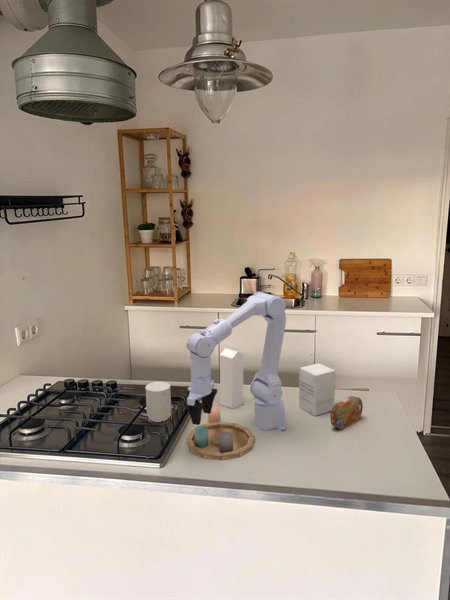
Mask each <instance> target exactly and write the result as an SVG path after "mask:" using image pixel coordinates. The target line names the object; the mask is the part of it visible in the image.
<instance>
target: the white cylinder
mask: <svg viewBox="0 0 450 600" xmlns="http://www.w3.org/2000/svg"><path fill="white" fill-rule="evenodd" d="M171 394H172V393H171V384H170V383H169V382H166V381H153V382H150V383H148V384H146V385H145V402H146V403H145V405H146V417H147V416H148V418H149V419H151V420H152V421H155V422H161V421H165V420H167V419H168V418H169V417H170V416H171V417H172V399H171V398H172V395H171Z"/></svg>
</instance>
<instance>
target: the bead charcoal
mask: <svg viewBox="0 0 450 600" xmlns="http://www.w3.org/2000/svg"><path fill="white" fill-rule="evenodd" d="M219 451H220V453H226V452H232V451H233V434H232V433H230V432H222V433H220V434H219Z"/></svg>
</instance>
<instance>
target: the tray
mask: <svg viewBox="0 0 450 600" xmlns="http://www.w3.org/2000/svg"><path fill="white" fill-rule="evenodd" d="M200 426H206V427H208V446H207V447H204V448H199V447H196V446H195V428H193V429H191V430H190V432H189V433H188V435H187V436H186V441H185V442H186V444H187V447H188V449H189V452H191V453H192V454H194V455H197V456H198V457H200V458H202V459H208V460H209V459H210V460H217V461H223V460H231V459H235V458H241V457H242V456H243V455H245V454H247V453H248V452H251V451H252V450H253V447H254V445H255V441H256V438H255V435H254V434H253V432H252V431H251V429H250V428H248V427H245V425H244V426H243V425H242V424H239V423H235V422H228V421H227V422H225V421H220V422H215V423H211V422H209V423H204V424H200ZM222 432H230V433H232V434H233V451H232V452H226V453H220V451H219V434H220V433H222Z"/></svg>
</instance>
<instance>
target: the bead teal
mask: <svg viewBox="0 0 450 600" xmlns="http://www.w3.org/2000/svg"><path fill="white" fill-rule="evenodd" d="M194 429H195V446H196V447H199V448H204V447H207V446H208V427H206V426H201V425H197V426H195V428H194Z"/></svg>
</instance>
